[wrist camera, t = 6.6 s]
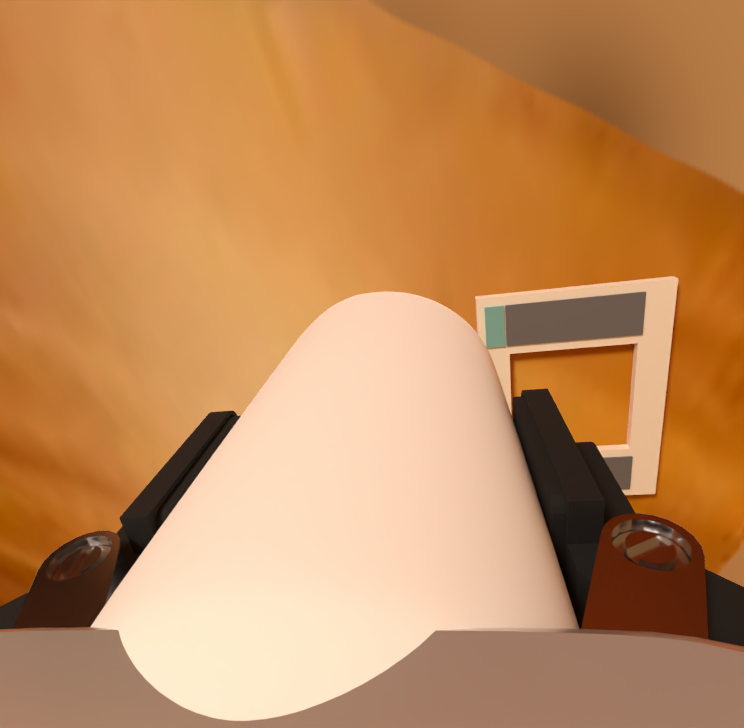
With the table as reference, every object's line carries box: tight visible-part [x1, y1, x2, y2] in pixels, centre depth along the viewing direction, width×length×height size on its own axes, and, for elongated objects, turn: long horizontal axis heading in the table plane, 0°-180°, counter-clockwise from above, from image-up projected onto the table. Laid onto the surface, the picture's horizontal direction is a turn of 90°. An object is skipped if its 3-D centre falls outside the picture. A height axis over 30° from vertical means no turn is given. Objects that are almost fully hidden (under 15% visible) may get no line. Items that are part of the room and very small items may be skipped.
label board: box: [475, 276, 678, 495], centre depth 33 cm, size 16×12×1 cm
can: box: [91, 292, 579, 721], centre depth 10 cm, size 6×6×12 cm
